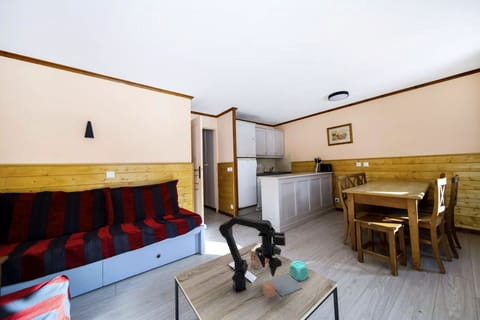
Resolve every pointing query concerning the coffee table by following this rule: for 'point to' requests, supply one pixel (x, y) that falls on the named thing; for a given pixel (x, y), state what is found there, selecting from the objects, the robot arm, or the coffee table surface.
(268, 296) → the terracotta cube
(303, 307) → the coffee table surface
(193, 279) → the coffee table surface
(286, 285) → the slate mat
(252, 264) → the stack of blocks
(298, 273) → the decorative dice
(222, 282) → the coffee table surface
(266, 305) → the coffee table surface
